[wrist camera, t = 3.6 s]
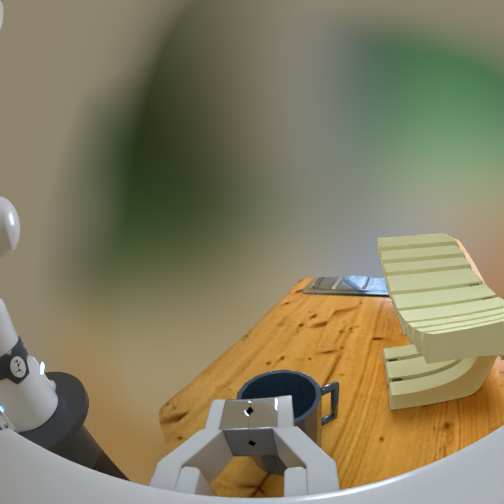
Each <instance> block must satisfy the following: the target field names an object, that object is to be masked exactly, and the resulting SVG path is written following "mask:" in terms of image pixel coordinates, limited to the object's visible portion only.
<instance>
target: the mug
mask: <svg viewBox="0 0 504 504" xmlns="http://www.w3.org/2000/svg"><path fill="white" fill-rule="evenodd" d="M329 392H331V407H330V415H327V416H325V417H323V418H321V412H322V403H321V396H322V395H325V394H327V393H329ZM288 395H291V396H292V404H293V413H294V423H295V427H296V426H298V427H299V428H300V429H301V430H302V431H303V432H304V433H305V434H306V435H307V436H308V437H309V438H310V439H311V440H312V441H313V442H314V443H315V444H317V445H318V446H319V447H321V426H322V425H324V424H326V423H329V422H331V421H333V420H335V419H336V418H337V416H338V401H339V383H338V382H337V381H334V382H332V383H330V384H328V385H325V386H323V387H321V388H320V386H319V384H318V383H317V382H316V381H315V380H314V379H313V378H312V377H311V376H308V375H306V374H304V373H302V372H299V371H292V370H277V371H269V372H267V373H264V374H261V375H258V376H255V377H254V378H252V379H251V380H249V381H248V382H246V383H245V384H244V385H243V386H242V388H241V389H240V390H239V392H238V393H237V398H236V399H257V398H269V397H279V396H288ZM252 457H253V459H254V461H255V463H256V464H257V465H258V466H259V467H260V468H261V469H263V470H264V471H266V472H269V473H272V474H277V475H284V471H285V470H286V469H288V468H287V466H286V465H285V464H284V463H283V461H282V460H281V459H280V458H279V456H278V455H267V456H252Z"/></svg>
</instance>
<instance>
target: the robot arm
mask: <svg viewBox="0 0 504 504" xmlns="http://www.w3.org/2000/svg"><path fill="white" fill-rule="evenodd" d="M2 22H3V4H2V0H0V30H1V26H2ZM19 236H20V222H19V217H18V214H17V212H16V210H15V208H14V206H13V205H12V204H11V203H10V202H9V201H8V200H7V199H6V198H4V197H1V196H0V260H2V259H3V258H5V257H6V256H8V255H9V254H11V253H12V252H14V251H15V249H16V247H17V244H18V241H19ZM43 371H44V364H43V362H41V367H40V366H39V364H38V363H37V361H36V359H35V358H34V357H32V356H29V355H28V353H27V350H26V348H25V345H24V343H23V342H22V340H21V338H20V337H19V336H18V335H17V334H16V331H15V329H14V327H13V324H12V322H11V319H10V316H9V314H8V311H7V309H6V306H5V304H4V302H3V300H2V299H1V298H0V427H1V428H2V430H0V504H504V425H502V426H501V427H499V428H498V429H496V430H495V431H493V432H491V433H490V434H488V435H487V436H485V437H483V438H481V439H480V440H478V441H476V442H474V443H472V444H471V445H469V446H467V447H465V448H463V449H461V450H459V451H457V452H455V453H453V454H451V455H449V456H447V457H444V458H442V459H440V460H438V461H435V462H433V463H430V464H428V465H425V466H423V467H420V468H418V469H415V470H412V471H410V472H407V473H404V474H401V475H398V476H395V477H391V478H388V479H385V480H381V481H378V482H374V483H370V484H366V485H362V486H357V487H353V488H348V489H343V490H340V489H339V482H338V475H337V469H336V463H335V461H334V460H333V459H332V458H331V457H330V456H329V455H328V454H326V453H325V452H324V451H323V450H322V449H321V448H320V447H319V446H318V445H317V444H315V443H314V442H313V441H312V440H311V439H310V438H309V437H308V436H307V435H306V434H305V433H304V432H303V431H302V430H301V429H300V428H299V427H298V426H296V427H295V423H294V413H293V404H292V396H291V395H288V396H279V397H269V398H257V399H226V400H213V401H212V403H211V407H210V410H209V414H208V417H207V421H206V425H205V428H204V430H202V429H200V430H199V431H198V432H197V433H195V434H194V435H193V436H192V437H190V438H189V439H188V440H187V441H185V442H184V443H183V444H181V445H180V446H179V447H177V448H176V449H175V450H173V451H172V452H171V453H169V454H168V455H167V456H165V457H164V458H163V459H161V460H160V461H158V464H157V466H156V469H155V471H154V474H153V476H152V479H151V481H150V484H149V486H146V485H141V484H137V483H134V482H130V481H127V480H123V479H120V478H116V477H113V476H110V475H107V474H104V473H101V472H98V471H95V470H92V469H90V468H87V467H85V466H82V465H79V464H77V463H75V462H72V461H70V460H68V459H65V458H63V457H61V456H59V455H57V454H54V453H52V452H50V451H48V450H46V449H44V448H42V447H41V446H39V445H37V444H35V443H33V442H31V441H29V440H28V439H26V438H24V437H23V436H21V435H19V434H18V433H19V432H23V431H29V430H33V429H35V428H37V427H39V426H41V425H42V424H44V423H45V422H46V421H47V420H48V419H49V418H50V417H51V416H52V415H53V413H54V412H55V410H56V407H57V404H58V397H57V394H56V392H55V389H56V384H55V382H54V381H53V380H48V378H47V377H46V375H45V374H44V372H43ZM267 455H278V456H279V458H280V459H281V460H282V461H283V463H284V464H285V465H286V466H287V468H288V469H286V470H285V471H284V497H273V498H235V497H218V496H217V495H216V493H215V492H214V490H213V489H212V488H211V486H210V485H209V484H210V483H211V482H212V481H213V480H214V479H215V478H216V477H217V476H218V475H219V473H220V472H221V471H222V470H223V469H224V468H225V467H226V466H227V465H228V463H229V462H230V461H231V460H232V459H233V458H234V457H233V456H267Z"/></svg>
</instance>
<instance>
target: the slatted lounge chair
mask: <svg viewBox="0 0 504 504" xmlns="http://www.w3.org/2000/svg"><path fill="white" fill-rule="evenodd" d="M378 254H379V256H380V257H381V266H382V268H384V278H385V280H387V282H386V288H387V291H388V293H389V296H390V299H392V304H393V306H394V309H395V312H396V314H397V315H399V316H398V320H399V323H400V326H401V329H402V331H403V334H404V336H408V339H409V342H410V344H412V343H414V344H412V345H406V346H399V347H391V348H384V349H383V352H382V356H383V362H384V367H385V374H386V381H387V387H389V389H388V395H389V403H390V410H393V409H401V408H409V407H416V406H422V405H428V404H434V403H439V402H444V401H449V400H453V399H457V398H462V397H466V396H469V395H472V394H473V393H475V392H476V391H477V390H478V389H479V388H480V387H481V386H482V384H483V383H484V382H485V380H486V378H487V377H488V375H489V373H490V371H491V369H492V367H493V365H494V362H495V360H496V358H497V356H498V355H499V356H500V357H501V359H502V360H504V300H503V299H501V298H500V297H497V296H496V294H495V293H494V292H493V291H492V290H491V289H490V288H489V287H487V285H486V284H483V282H482V280H481V279H480V278H479V277H478V276H477V275H476V274H475V273H474V272H473V271H472V268H471V265H470V263H469V262H468V261H467V260H466V258H465V255H464V253H463V252H462V251H461V250H460V248H459V245H458V243H457V242H456V241H455V240H454V239H453V238H452V237H450V236H448V235H447V234H443V233H438V234H424V235H411V236H398V237H385V238H378Z"/></svg>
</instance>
